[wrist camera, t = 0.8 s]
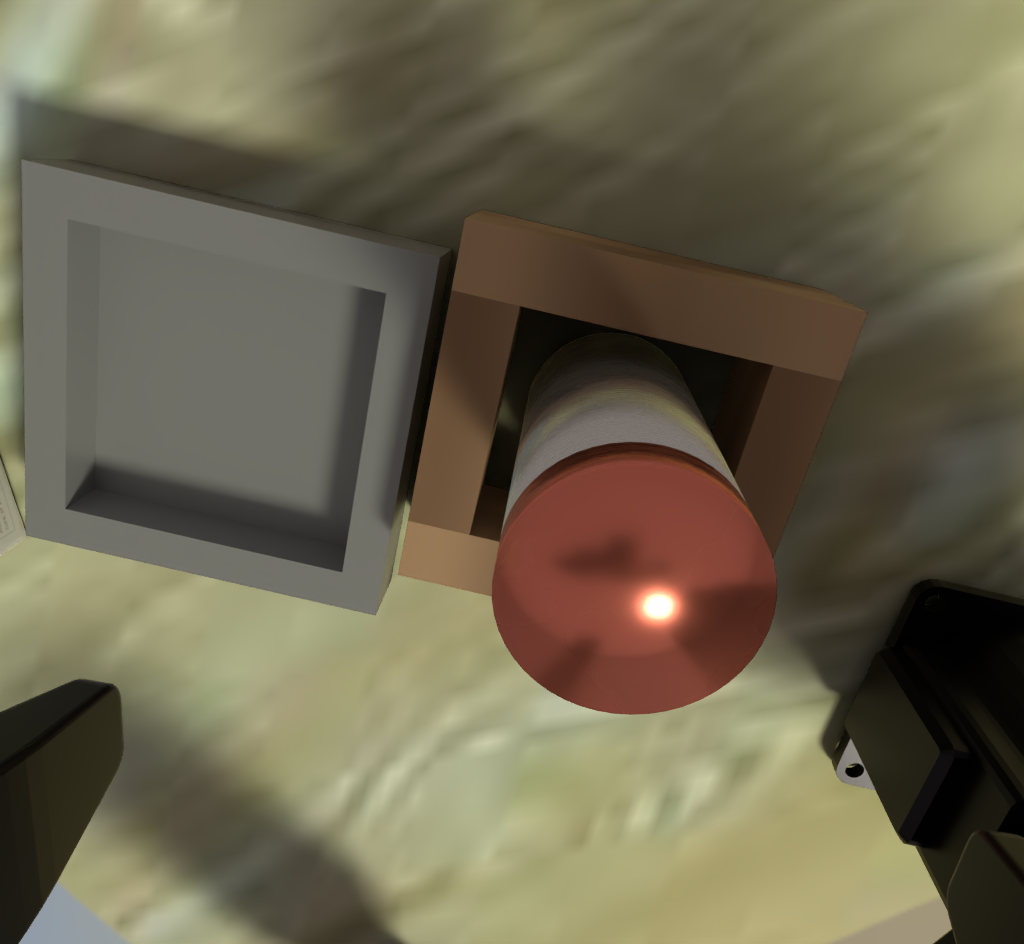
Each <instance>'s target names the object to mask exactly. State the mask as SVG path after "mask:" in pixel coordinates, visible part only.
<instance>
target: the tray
mask: <svg viewBox="0 0 1024 944" xmlns="http://www.w3.org/2000/svg"><path fill="white" fill-rule="evenodd" d="M21 171H22V256H23V340H24V424H25V509H26V536H31V537H35V538H39V539H44V540H48V541H52V542H57V543H61V544H66V545H70V546H74V547H79V548H83V549H87V550H92V551H96V552H101V553H105V554H109V555H114V556H118V557H122V558H127V559H131V560H136V561H140V562H144V563H149V564H153V565H157V566H162V567H166V568H171V569H175V570H179V571H184V572H188V573H192V574H197V575H201V576H205V577H210V578H214V579H219V580H223V581H227V582H232V583H236V584H240V585H245V586H249V587H254V588H258V589H262V590H267V591H271V592H275V593H280V594H284V595H289V596H293V597H297V598H302V599H306V600H310V601H315V602H319V603H324V604H328V605H332V606H337V607H341V608H345V609H350V610H354V611H359V612H363V613H367V614H372V615H376V613H377V611H378V609H379V607H380V604H381V602H382V600H383V597H384V595H385V593H386V591H387V588H388V586H389V584H390V581H391V577H392V572H393V566H394V561H395V556H396V550H397V545H398V539H399V534H400V528H401V523H402V518H403V512H404V507H405V501H406V496H407V491H408V485H409V480H410V474H411V469H412V464H413V458H414V453H415V447H416V442H417V436H418V431H419V426H420V420H421V415H422V409H423V404H424V399H425V393H426V388H427V382H428V377H429V371H430V366H431V361H432V355H433V350H434V344H435V339H436V334H437V328H438V323H439V317H440V312H441V307H442V301H443V296H444V290H445V285H446V279H447V274H448V269H449V263H450V258H451V252H452V249H450V248H446V247H442V246H437V245H433V244H429V243H425V242H420V241H416V240H412V239H408V238H403V237H399V236H395V235H390V234H386V233H382V232H378V231H373V230H369V229H365V228H361V227H356V226H352V225H348V224H344V223H339V222H335V221H331V220H327V219H322V218H318V217H314V216H309V215H305V214H301V213H297V212H292V211H288V210H284V209H280V208H275V207H271V206H267V205H263V204H258V203H254V202H250V201H245V200H241V199H237V198H233V197H228V196H224V195H220V194H216V193H211V192H207V191H203V190H199V189H194V188H190V187H186V186H182V185H177V184H173V183H169V182H164V181H160V180H156V179H152V178H147V177H143V176H139V175H135V174H130V173H126V172H122V171H118V170H113V169H109V168H105V167H100V166H96V165H92V164H88V163H83V162H79V161H75V160H37V159H21Z"/></svg>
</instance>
